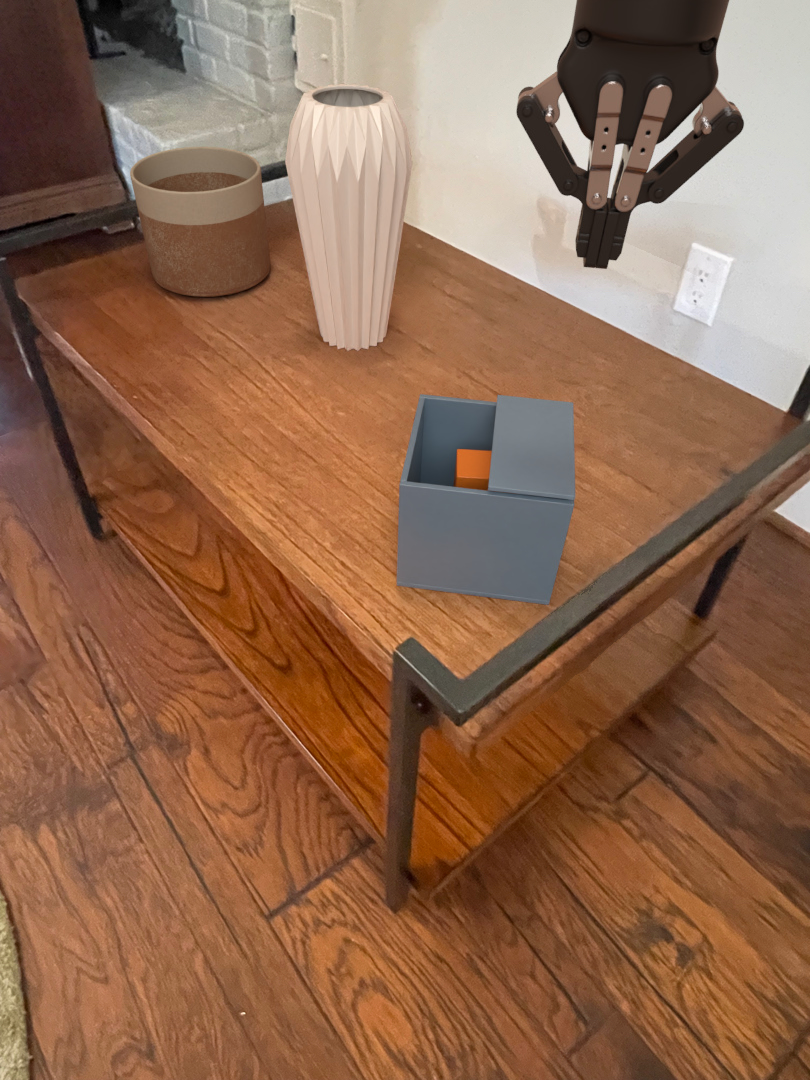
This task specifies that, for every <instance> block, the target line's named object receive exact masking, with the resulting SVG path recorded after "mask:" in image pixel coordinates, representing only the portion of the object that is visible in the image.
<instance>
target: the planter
mask: <svg viewBox="0 0 810 1080" xmlns="http://www.w3.org/2000/svg"><path fill="white" fill-rule="evenodd" d="M129 177H130V182H131V185H132V190H133V195H134V199H135V204H136V206H137V207H136V208H137V212H138V217H139V222H140V227H141V230H142V235H143V239H144V244H145V249H146V252H147V257H148V262H149V267H150V272H151V275H152V278H153V280H154V281H155V282H156V283H157V284H158V286H160V287H162V288H163V289H165V290H167V291H169V292H171V293H175V294H178V295H182V296H187V297H188V296H189V297H197V298H211V297H212V298H215V297H222V296H224V297H225V296H229V295H234V294H238V293H241V292H243V291H246V290H249V289H251V288H253V287H255V286H257V285H258V284H259V283H261V282H263V280H265V279H266V277H267V276H268V275H269V273H270V270H271V256H270V247H269V238H268V237H269V236H268V228H267V217H266V208H265V197H264V189H263V188H264V187H263V180H262V169H261V165H260V163H259V161H258V160H257V159H256V158H254V157H253V156H252V155H249V154H248V153H245V152H243V151H239V150H236V149H231V148H226V147H218V146H185V147H176V148H171V149H165V150H162V151H158V152H155V153H151V154H150V155H147V156H145V157H142V158H141V159H139V160H137V162H135V163H134V164H133V165H132V167H131V168H130V171H129Z"/></svg>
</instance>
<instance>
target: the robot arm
mask: <svg viewBox="0 0 810 1080" xmlns="http://www.w3.org/2000/svg"><path fill="white" fill-rule="evenodd" d="M729 3H730V0H576V3H575V7H574V8H575V9H574V16H573V22H572V28H571V33H570V36H569V39H568V41H567V44H566V45H565V47H564V48H563V50H562V51H561V53H560V55H559V56H558V59H557V64H556V71H555V72H554V73H552V74H551V75H550V76H548V77H546V78H545V79H543V81H541V82H540V83H539V84H536V86H534V87H533V86H525V87H524V88H522V89H521V90H520V92H519V93H518V96H517V104H516V112H515V113H516V117H517V119H518V121H519V122H520V124H521V126H522V128H523V129H524V132H525V133H526V135H527V136H528V139H529V140H530V143H531V144H532V145H533V147H534V149H535V151H536V153H537V154H538V156H539V158H540V160H541V162H542V163H543V165H544V167H545V169H546V171H547V172H548V174H549V176H550V178H551V179H552V181H553V184H554V185H555V186H556V187H555V188H557V190H558V192H559V193H560V194H561V195H562V196H566V197H568V196H571V197H573V198H575V199H577V200H578V201H580V203H581V208H580V214H579V219H578V225H577V229H576V234H575V241H574V242H575V252H576V257H577V258H582V263H583V268H589V269H591V268H592V269H601V270H607V269H608V267H609V262H610V261H617V260H618V259H619V258H620V256H621V255H622V252H623V249H624V243H625V239H626V235H627V231H628V227H629V223H630V219H631V215H632V212H633V211H634V209H636V208H637V207H638V206H640V205H643V204H646V203H650V202H651V203H653V204H657V205H658V204H662V203H664V202H666V201H667V199H669V198H670V197H672V195H673V194H674V193H676V191H678V190H679V189H680V188H681V187H682V186H683V185H684V184H685V183H686V182H687V181H689V180H690V179H691V178H693V176H694V175H696V174H697V173H698V172H699V171H700V170H701V169H703V167H705V166H706V165H707V164H708V163H709V162H711V160H712V159H714V157H716V156H717V155H718V154H719V153H720V152H721V151H722V150H724V149H725V148H726V147H727V146H728V145H729V144H730V143H731V142H732V141H734V139H736V138H737V137H738V136H739V135H740V134H741V133H742V132H743V130H744V127H745V121H744V117H743V115H742V113H741V111H740V110H739V108H738V106H737V105H736V104H735V103H734V102H733V101H728V99H727V98H726V96H725V95H724V94H723V93H722V92H721V91H720V89H719V88H718V87H717V83H718V81H719V74H720V73H719V72H720V71H719V65H718V60H717V48H718V43H719V40H720V36H721V33H722V28H723V25H724V21H725V18H726V14H727V11H728V6H729ZM562 94H563V95H564V98H565V99H566V102H567V104H568V106H569V108H570V110H571V112H572V115H573V117H574V118H575V122H576V123H577V125H578V128H579V130H580V132H581V133H582V134H583V136H584V138H586V139H587V140H589V144H588V158H587V168H586V169H584V168H582V167H580V166H578V164H577V162H576V161H575V159H574V157H573V155H572V153H571V151H570V150H569V148H568V145H567V144H566V142H565V140H564V138H563V136H562V134H561V132H560V131H559V128H558V127H557V125H556V123H557V122H559V119H560V117H561V106H560V102H559V99H560V97H561V96H562ZM698 107H699V108H698ZM697 108H698V110H697V112H696V113H695V114H694V116H693V118H692V119H691V120H692V121H691V126H692V130H691V131H690V132H689V133H687V134H686V135H685V136H684V137H683V138H682V139H681V140H680V141H679V142H678V143H677V144H676V145H675V146H673V148H672V149H671V150H670V151H668V152H667V153H666V154H665V155H664V156H663V157H662V158H661V159H659V161H658V162H656V164H655V165H653V166H652V167H651V168H650V165H651V162H652V158H653V156H654V152H655V148H656V146H657V145H659V144H661V143H663V142H664V141H665V140H667V138H668V137H670V136H671V134H672V133H674V131H676V129H678V127H679V126H681V124H683V122H684V121H685V120H687V118H688V117H689V116H690V115H691V114H692V113H693V112H694V111H695V110H696V109H697ZM617 145H623V146H622V150H621V157H620V160H619V163H618V167H617V171H616V175H615V177H614V181H613V184H612V189H611V194H610V197H608V195H609V189H610V188H609V187H610V181H611V174H612V173H611V172H612V169H613V166H614V165H613V164H614V159H615V158H614V157H615V153H616V151H615V150H616V146H617ZM649 168H650V169H649Z"/></svg>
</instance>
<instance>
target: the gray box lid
mask: <svg viewBox="0 0 810 1080" xmlns="http://www.w3.org/2000/svg"><path fill="white" fill-rule="evenodd" d="M496 402H497V404H496V414H495V424H494V434H493V443H492V453H491V463H490V473H489V483H488V490H489V491H498V492H507V493H516V494H525V495H534V496H543V497H552V498H561V499H570V500H574V501H575V500H576V461H575V460H576V457H575V454H576V453H575V416H574V415H575V413H574V402H573V401H564V400H552V399H544V398H535V397H534V398H533V397H525V396H524V397H522V396H513V395H504V394H497V397H496Z"/></svg>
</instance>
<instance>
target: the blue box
mask: <svg viewBox="0 0 810 1080" xmlns="http://www.w3.org/2000/svg"><path fill="white" fill-rule="evenodd" d="M496 404H497V401H490V400H479V399H472V398H462V397H454V396H453V397H452V396H444V395H434V394H423V393H420V394H419V397H418V402H417V405H416V409H415V415H414V419H413V423H412V428H411V432H410V436H409V441H408V445H407V449H406V454H405V457H404V463H403V466H402V471H401V476H400V480H399V485H398V518H397V520H398V521H397V524H398V525H397V549H396V550H397V552H396V553H397V555H396V583H395V584H396V586H397V587H403V588H404V587H405V588H411V589H420V590H428V591H435V592H444V593H450V594H457V595H458V594H459V595H467V596H474V597H483V598H491V599H497V600H506V601H515V602H521V603H528V604H529V603H530V604H538V605H543V606H545V605H546V606H549V605H550V603H551V599H552V594H553V590H554V586H555V583H556V579H557V575H558V570H559V567H560V564H561V560H562V555H563V552H564V548H565V544H566V540H567V535H568V531H569V528H570V524H571V521H572V515H573V513H574V509H575V500H570V499H561V498H552V497H543V496H534V495H525V494H512V493H503V492H494V491H486V490H477V489H469V488H460V487H453V484H454V474H455V463H456V453H457V449H467V450H485V451H492V443H493V434H494V424H495V414H496Z"/></svg>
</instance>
